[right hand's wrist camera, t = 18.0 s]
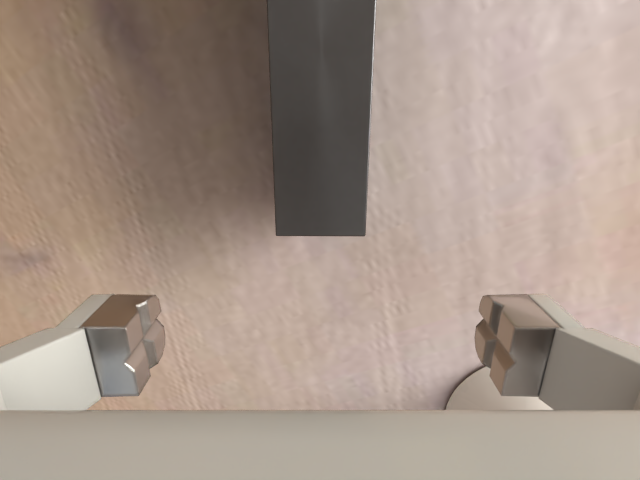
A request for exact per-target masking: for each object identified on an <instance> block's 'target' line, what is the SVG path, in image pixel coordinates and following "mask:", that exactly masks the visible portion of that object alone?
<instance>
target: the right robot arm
mask: <svg viewBox="0 0 640 480" xmlns="http://www.w3.org/2000/svg"><path fill="white" fill-rule="evenodd" d="M160 312H161V307H160V302H159V299H158V298H157V296H156V295H130V294H116V295H115V294H95V295H91V296H90V297H89V298H88V299H86V300H85V301H84V302H83V303H82V304H81V305H80V306H79V307H77V308H76V309H75V310H74V311H73V312H72V313H71V314H70V315H69V316H67V317H66V318H65V319H64V320H63V321H62V322H61V323H60V324H58V325H57V326H56V327H55V328H47V329H44V330H42V331H39V332H37V333H34V334H32V335H29V336H27V337H24V338H22V339H19V340H17V341H14V342H12V343H9V344H7V345H4V346H2V347H0V480H640V347H638V346H636V345H633V344H631V343H628V342H626V341H623V340H621V339H618V338H616V337H613V336H611V335H608V334H606V333H603V332H601V331H598V330H596V329H593V328H585V327H584V326H583V325H582V324H581V323H579V322H578V321H577V320H576V319H575V318H574V317H573V316H572V315H570V314H569V313H568V312H567V311H566V310H565V309H564V308H563V307H562V306H560V305H559V304H558V303H557V302H556V301H555V300H554V299H553V298H551V297H550V296H549V295H546V294H511V295H485V296H483V297H482V299H481V301H480V306H479V312H480V314H481V315H482V317H483V318H484V319H483V320H482V321H481V322H480V323H479V324H478V325H477V326H476V331H475V347H476V351H477V355H478V357H479V359H480V361H481V363H482V364H484V365H485V366H486V367H484V368H482V369H480V370H478V371H477V372H475V373H473V374H472V375H470V376H469V377H468V378H466V379H465V380H464V381H463V382H462V383H461V384H460V385H459V386H458V387H457V388H456V390H455V391H454V392H453V394H452V395H451V397H450V399H449V401H448V403H447V406H446V410H87V409H88V408H89V407H91V406H92V405H93V404H95V403H96V402H98V401H99V400H100V399H101V397H116V396H139V395H140V393H141V391H142V390H143V388H144V386H145V385H146V383H147V381H148V380H149V378H150V376H151V375H150V370H149V369H150V368H152V367H153V366H155V365H156V364H158V363H159V361H160V359H161V357H162V355H163V351H164V347H165V331H164V326H163V325H162V324H161V323H160V322H159V321H158V320H157V319H156V318H157V317H158V315H159V314H160Z"/></svg>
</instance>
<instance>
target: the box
mask: <svg viewBox="0 0 640 480" xmlns="http://www.w3.org/2000/svg"><path fill="white" fill-rule="evenodd" d="M267 16H268V42H269V68H270V94H271V120H272V146H273V172H274V198H275V224H276V236H365V232H366V211H367V189H368V168H369V146H370V125H371V104H372V82H373V61H374V39H375V18H376V0H267Z"/></svg>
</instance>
